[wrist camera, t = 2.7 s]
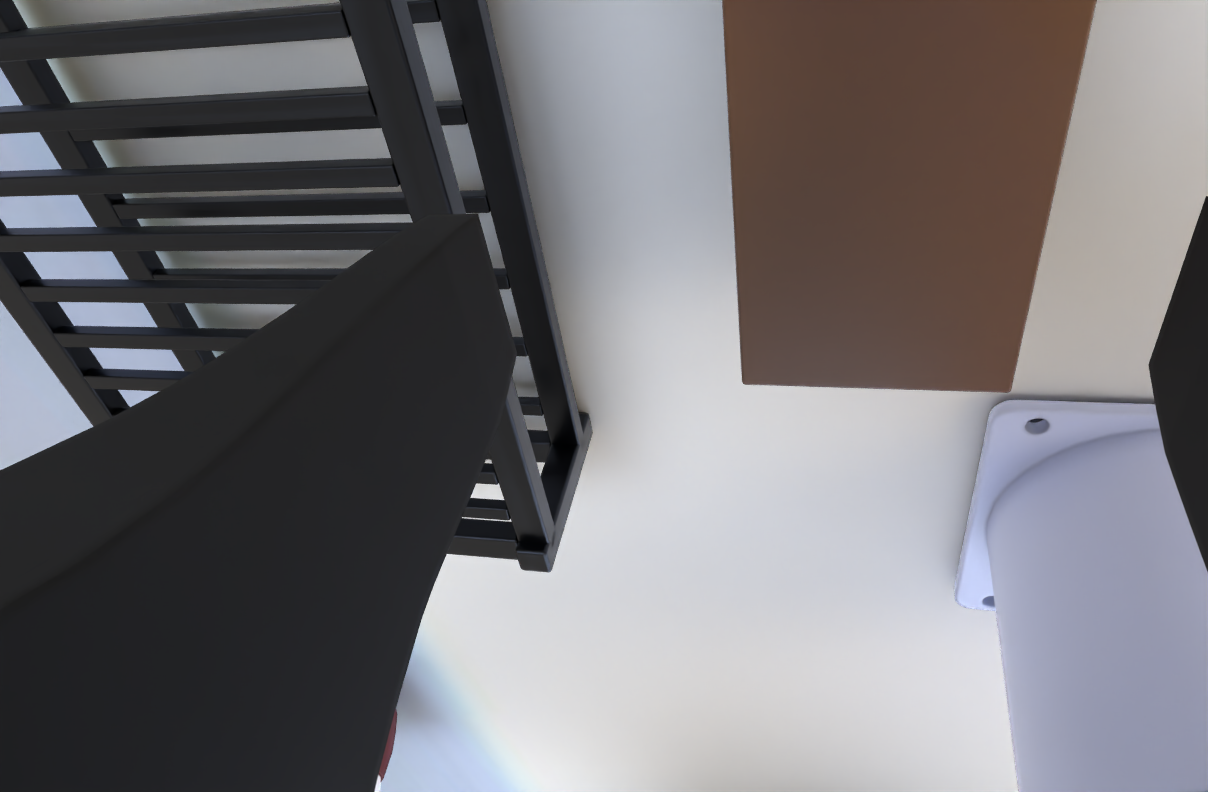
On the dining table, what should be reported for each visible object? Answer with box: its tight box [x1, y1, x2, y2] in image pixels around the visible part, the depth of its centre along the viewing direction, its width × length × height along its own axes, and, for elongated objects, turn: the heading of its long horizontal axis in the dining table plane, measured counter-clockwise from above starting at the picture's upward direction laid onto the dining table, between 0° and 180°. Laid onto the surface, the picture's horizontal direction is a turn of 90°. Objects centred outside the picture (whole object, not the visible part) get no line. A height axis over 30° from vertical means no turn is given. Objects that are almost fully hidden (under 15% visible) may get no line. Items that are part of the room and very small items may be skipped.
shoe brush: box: [722, 0, 1097, 393], centre depth 13 cm, size 4×11×5 cm, turn 9°
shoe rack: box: [0, 0, 593, 572], centre depth 19 cm, size 11×16×5 cm
